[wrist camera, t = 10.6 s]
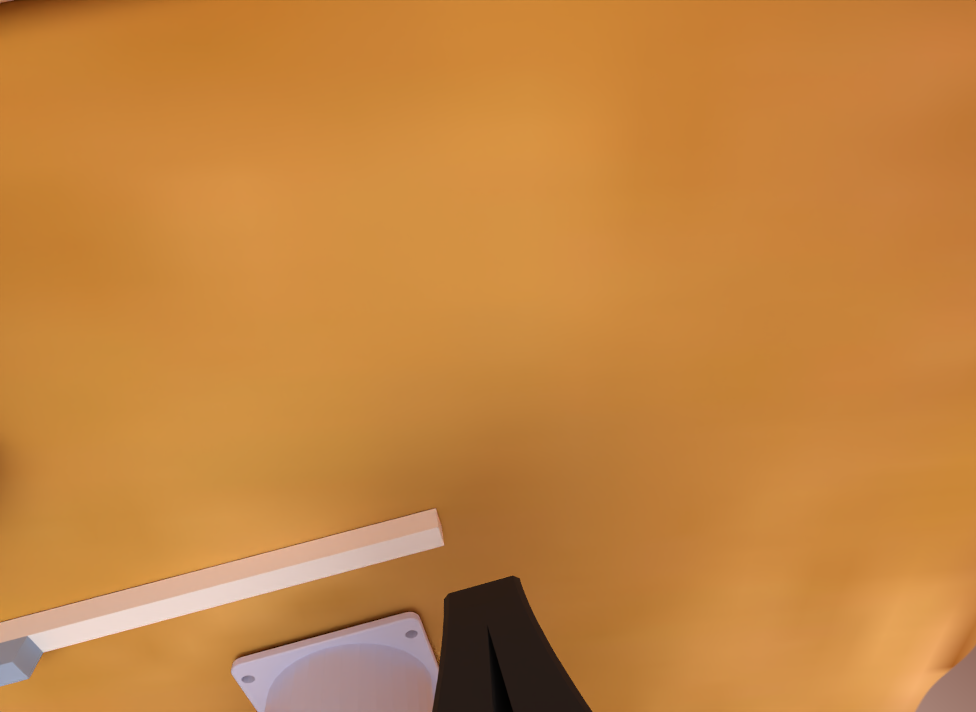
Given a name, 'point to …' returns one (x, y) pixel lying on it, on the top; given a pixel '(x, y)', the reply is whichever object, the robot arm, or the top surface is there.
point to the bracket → (18, 660)
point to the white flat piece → (227, 582)
